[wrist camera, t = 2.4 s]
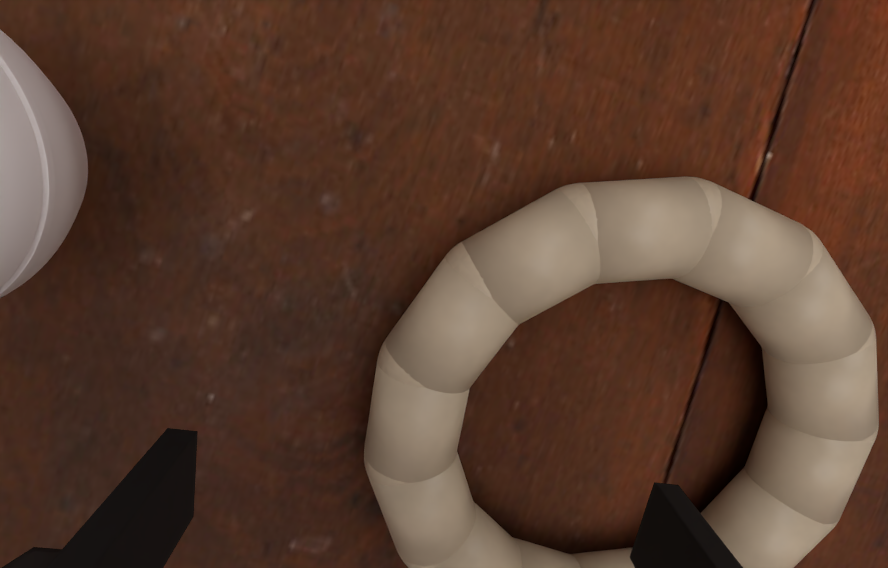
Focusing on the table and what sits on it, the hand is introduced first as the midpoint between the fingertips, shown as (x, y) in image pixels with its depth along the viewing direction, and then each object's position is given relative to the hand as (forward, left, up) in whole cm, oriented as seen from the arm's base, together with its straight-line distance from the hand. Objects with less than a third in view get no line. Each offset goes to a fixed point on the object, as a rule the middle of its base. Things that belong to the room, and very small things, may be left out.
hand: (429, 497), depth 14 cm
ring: (+8, 0, -5) cm, 9 cm away
